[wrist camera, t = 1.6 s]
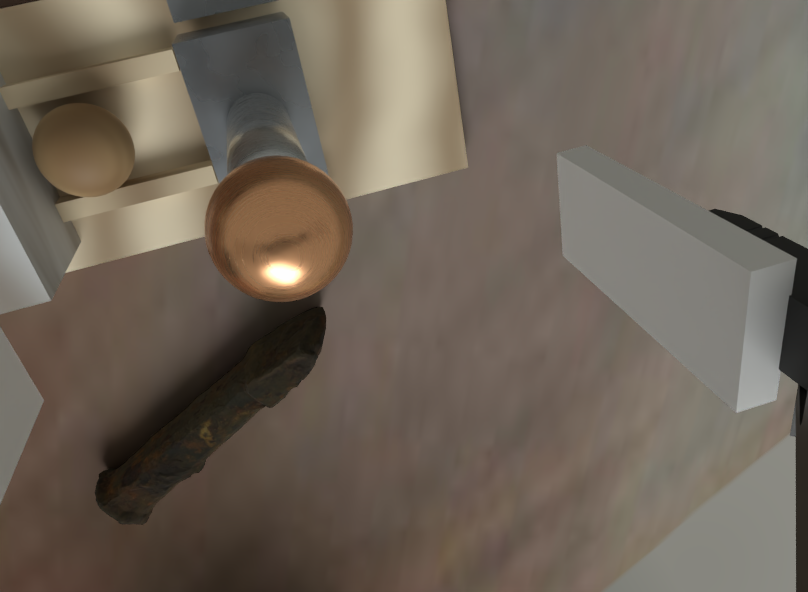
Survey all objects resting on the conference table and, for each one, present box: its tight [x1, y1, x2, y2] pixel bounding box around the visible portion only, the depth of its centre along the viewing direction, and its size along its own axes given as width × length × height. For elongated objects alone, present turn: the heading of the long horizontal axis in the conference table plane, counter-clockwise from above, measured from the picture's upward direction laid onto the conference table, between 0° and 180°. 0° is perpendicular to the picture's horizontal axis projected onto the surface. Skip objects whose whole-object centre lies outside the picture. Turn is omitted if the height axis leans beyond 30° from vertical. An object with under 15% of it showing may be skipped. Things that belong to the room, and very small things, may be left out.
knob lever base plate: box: [0, 0, 468, 314], centre depth 31 cm, size 28×13×8 cm, turn 100°
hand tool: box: [95, 307, 326, 525], centre depth 41 cm, size 19×4×5 cm, turn 127°
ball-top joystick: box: [166, 0, 353, 302], centre depth 25 cm, size 5×12×20 cm, turn 10°
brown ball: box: [32, 103, 135, 197], centre depth 31 cm, size 4×4×4 cm
